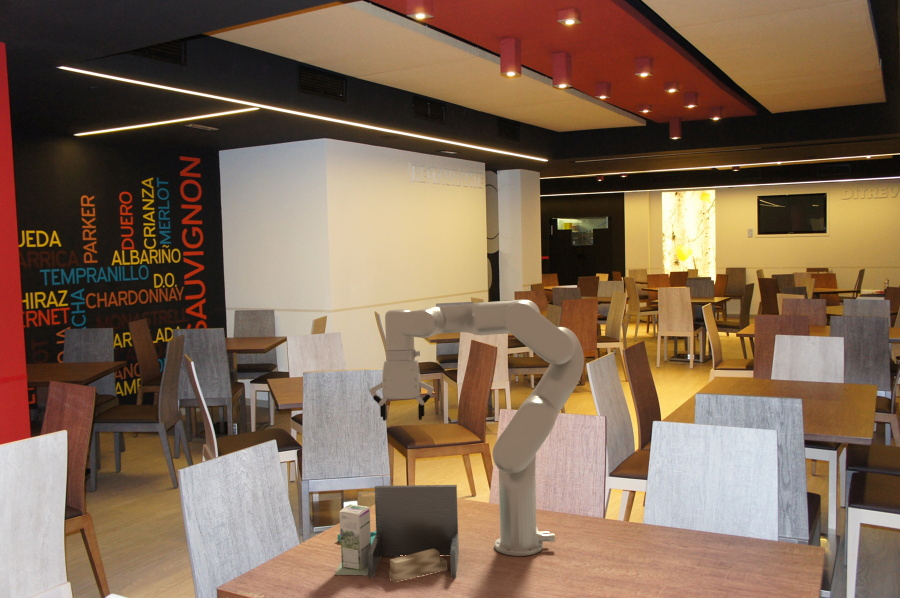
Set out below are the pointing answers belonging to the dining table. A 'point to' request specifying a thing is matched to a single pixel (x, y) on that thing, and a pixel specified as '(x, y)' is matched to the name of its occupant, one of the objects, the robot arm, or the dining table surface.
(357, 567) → the syrup box
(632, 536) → the dining table surface
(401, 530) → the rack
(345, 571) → the mat
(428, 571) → the offcut stack
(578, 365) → the robot arm
